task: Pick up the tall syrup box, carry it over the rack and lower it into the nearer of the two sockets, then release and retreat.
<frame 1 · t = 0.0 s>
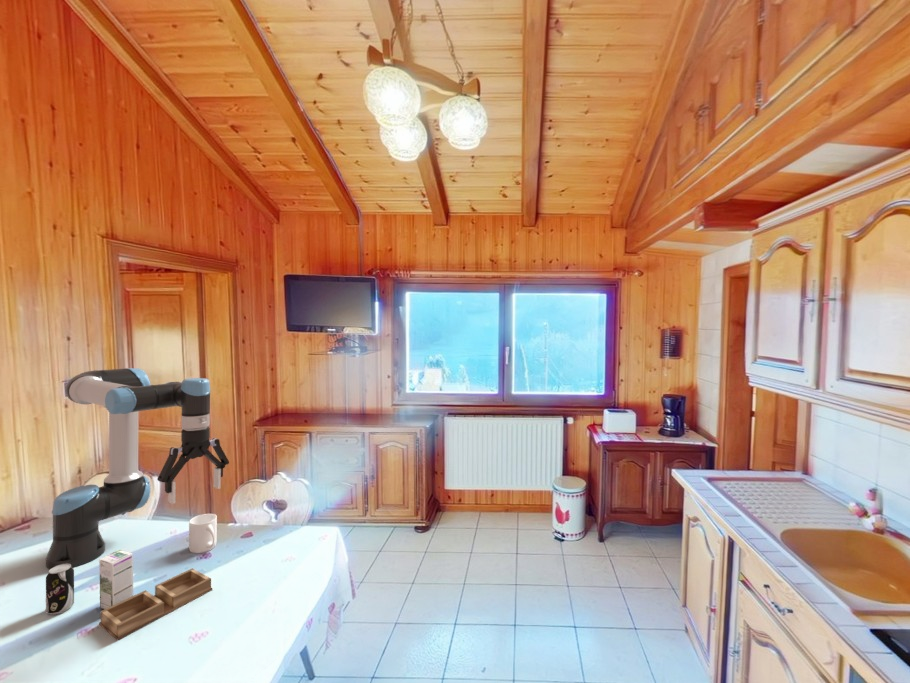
hand: (195, 495, 128), 28 cm above the table, fingers open, 13 cm apart
beverage can: (60, 610, 115), on the table
syrup box: (116, 605, 118), on the table
mug: (205, 549, 148), on the table
rack: (159, 606, 118), on the table
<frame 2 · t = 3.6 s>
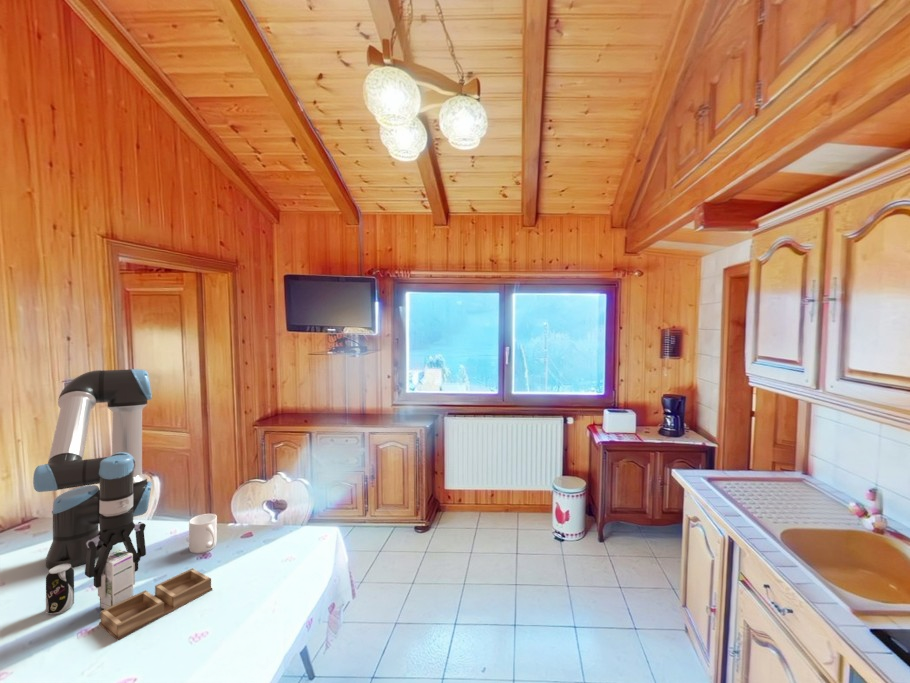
hand: (116, 589, 118), 4 cm above the table, fingers closed on syrup box, 6 cm apart
syrup box: (116, 605, 118), on the table, touching gripper
everything else where it was.
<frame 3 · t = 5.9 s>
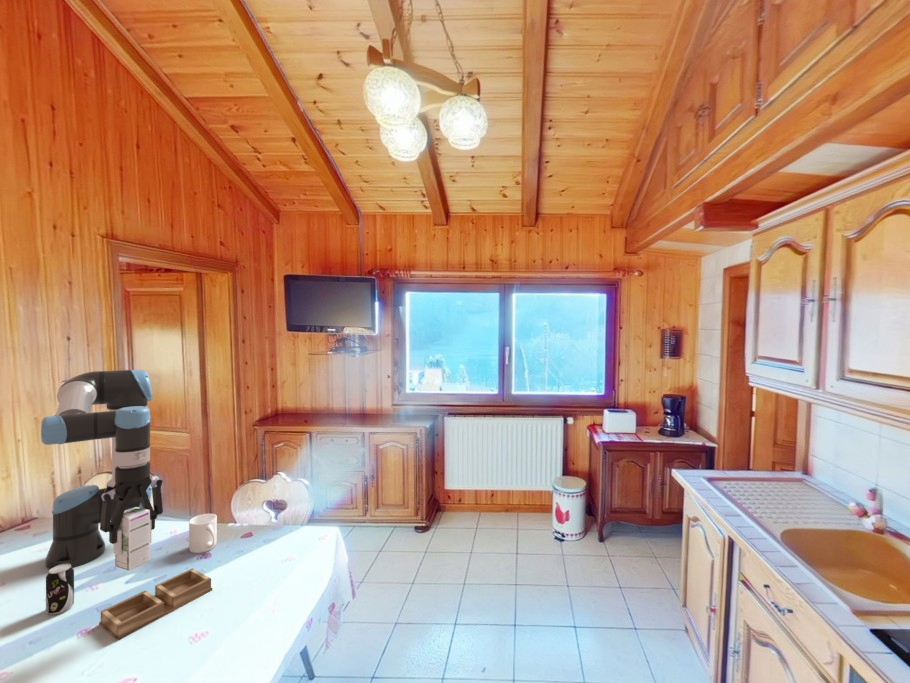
hand: (132, 547, 112), 20 cm above the table, fingers closed on syrup box, 6 cm apart
syrup box: (132, 564, 112), point 15 cm above the table, touching gripper
everything else where it was.
when the fingers open (6 cm above the table, at t = 8.0 s): syrup box drops 1 cm, resting on rack.
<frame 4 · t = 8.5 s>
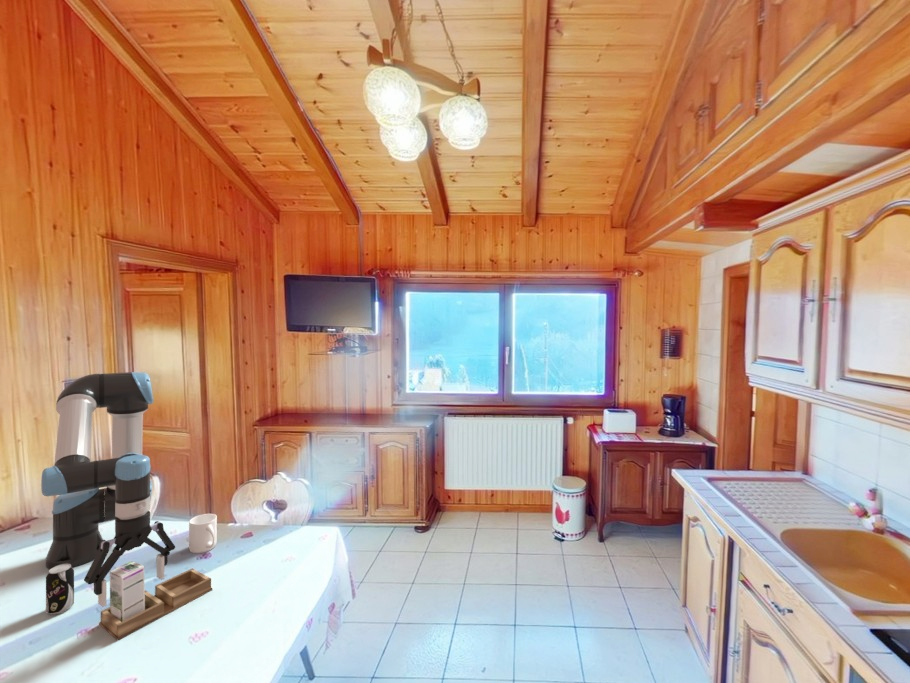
hand: (132, 590, 112), 8 cm above the table, fingers open, 13 cm apart
syrup box: (127, 620, 111), resting on rack
everything else where it was.
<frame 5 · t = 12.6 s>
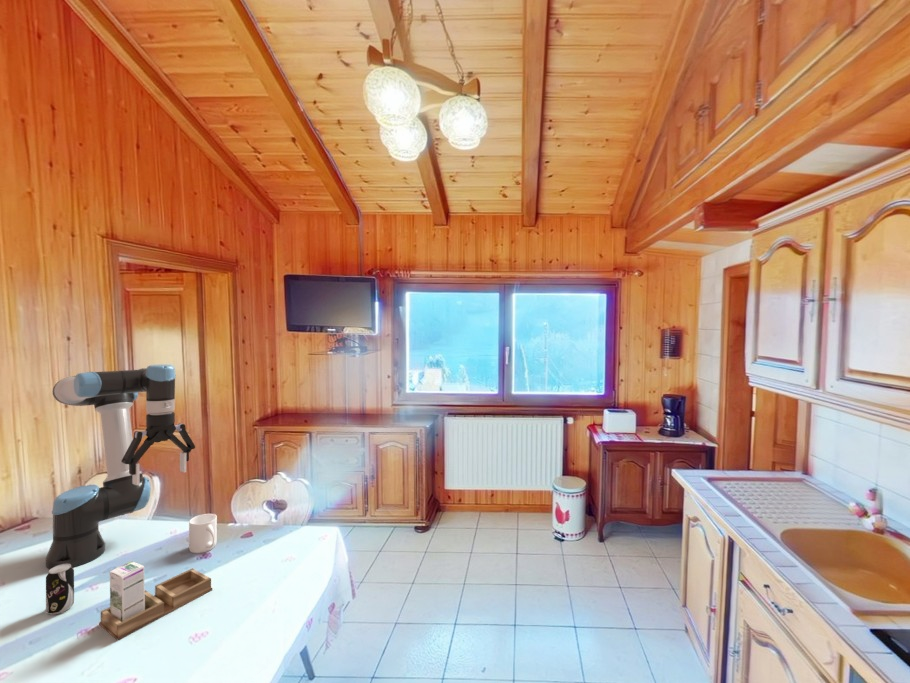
hand: (160, 477, 132), 32 cm above the table, fingers open, 13 cm apart
nothing on the table moved.
at the end: syrup box 1.2 cm from the target spot on the rack, point 0.4 cm above the rack's base; syrup box tilted 0°; the gripper is holding nothing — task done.
